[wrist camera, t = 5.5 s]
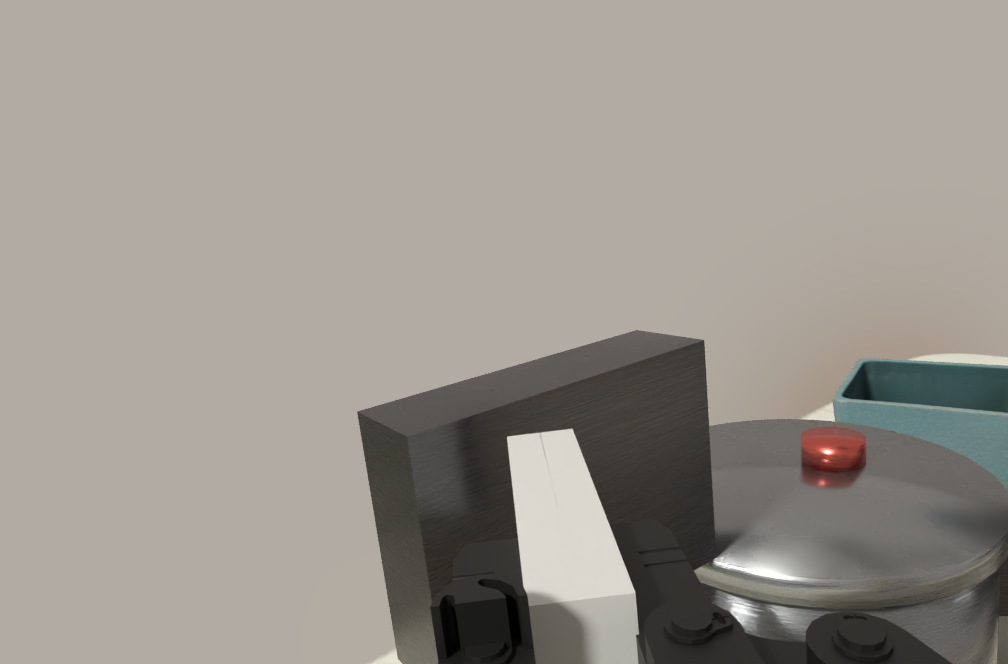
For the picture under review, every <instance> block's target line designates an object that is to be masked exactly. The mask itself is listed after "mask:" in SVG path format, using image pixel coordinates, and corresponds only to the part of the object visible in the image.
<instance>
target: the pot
mask: <svg viewBox="0 0 1008 664" xmlns="http://www.w3.org/2000/svg"><path fill="white" fill-rule="evenodd" d="M700 583H701V582H700ZM701 585H702V587H703V588H704V590H705V592H706V594H707V595H708V597H709V599H710V601H711V603H712V604H715V605H717V606H719V607H721V608H723V609H725V610H727V611H729V612H730V613H731V614H732V615H733V616H734V617H735V618H736V619H737V620H738V621H739V622H740V624H741V625H742V627H743V629H744V630H745V632H746V633H748V634H751V635H754V636H757V637H761V638H767V639H773V640H782V641H793V642H804V643H806V630H807V628H808V627H809V625H810V624H811V622H812V621H813V620H815V619H817V618H819V617H821V616H823V615H825V614H830V613H837V612H858V613H865V614H869V615H872V616H876V617H879V618H883V619H886V620H888V621H890V622H891V623H893V624H895V625H897V626H899V627H901V628H903V629H904V630H906V631H907V632H909V633H910V634H911V635H913V636H914V637H916V638H917V639H918V640H920V641H921V642H923V643H924V644H926V645H927V646H928V647H930V648H931V649H933V650H934V651H935V652H937V653H938V654H940V655H941V656H942V657H944V658H945V659H947V660H948V661H950V662H951V663H952V664H997V651H998V622H999V616H1008V557H1007V559H1006V560H1005V561H1004V563H1003V564H1002V565H1001V566H1000V567H999V568H998V569H997V571H995V572H994V573H993V574H991V575H990V576H989V577H987V578H986V579H984V580H983V581H982V582H980V583H978V584H975V585H973V586H971V587H969V588H967V589H965V590H963V591H960V592H957V593H954V594H951V595H948V596H945V597H942V598H939V599H934V600H929V601H924V602H920V603H915V604H909V605H901V606H892V607H883V608H858V609H841V608H817V607H808V606H799V605H790V604H782V603H777V602H771V601H766V600H760V599H755V598H751V597H747V596H743V595H739V594H735V593H731V592H727V591H724V590H721V589H718V588H715V587H712V586H710V585H707V584H704V583H701Z"/></svg>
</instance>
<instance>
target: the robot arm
mask: <svg viewBox="0 0 1008 664" xmlns="http://www.w3.org/2000/svg"><path fill="white" fill-rule="evenodd" d="M507 443H508V452H509V461H510V470H511V479H512V488H513V497H514V506H515V515H516V524H517V533H518V538H511V539H503V540H495V541H487V542H479V543H470V544H465V545H464V546H463V548H462V549H461V550H460V552H459V553H458V554H457V556H456V557H455V558H454V560H453V570H452V583H451V584H449V585H447V586H445V587H444V588H443V589H442V590H441V591H440V592H439V593H438V594H437V595H435V597H434V599H433V602H432V604H431V606H430V610H431V616H432V623H433V629H434V636H435V642H436V649H437V656H438V664H952V663H951V662H950V661H948V660H947V659H945V658H944V657H942V656H941V655H940V654H938V653H937V652H935V651H934V650H933V649H931V648H930V647H928V646H927V645H926V644H924V643H923V642H921V641H920V640H918V639H917V638H916V637H914V636H913V635H911V634H910V633H909V632H907V631H906V630H904V629H903V628H901V627H899V626H897V625H895V624H893V623H891V622H890V621H888V620H886V619H883V618H879V617H876V616H872V615H869V614H865V613H858V612H837V613H830V614H825V615H823V616H821V617H819V618H817V619H815V620H813V621H812V622H811V624H810V625H809V627H808V628H807V630H806V643H804V642H793V641H782V640H773V639H767V638H761V637H757V636H754V635H751V634H748V633H746V632H745V630H744V629H743V627H742V625H741V624H740V622H739V621H738V620H737V619H736V618H735V617H734V616H733V615H732V614H731V613H730V612H729V611H727V610H725V609H723V608H721V607H719V606H717V605H715V604H712V603H711V601H710V599H709V597H708V595H707V594H706V592H705V590H704V588H703V587H702V585H701V583H700V581H699V579H698V578H697V576H696V574H695V572H694V570H693V569H692V567H691V565H690V563H688V560H687V558H686V556H685V554H684V552H683V551H682V550H681V548H680V545H679V543H678V542H677V540H676V538H675V536H674V534H673V533H672V531H671V530H669V529H668V528H666V527H665V526H663V525H662V524H660V523H658V522H657V521H655V520H654V519H649V520H641V521H633V522H624V523H616V524H609V523H608V520H607V517H606V515H605V512H604V510H603V507H602V504H601V502H600V499H599V497H598V494H597V491H596V489H595V486H594V484H593V481H592V478H591V476H590V473H589V471H588V468H587V465H586V463H585V460H584V458H583V455H582V452H581V450H580V447H579V445H578V442H577V439H576V437H575V434H574V431H573V429H565V430H557V431H549V432H541V433H532V434H524V435H516V436H508V437H507Z"/></svg>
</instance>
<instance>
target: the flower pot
mask: <svg viewBox="0 0 1008 664" xmlns="http://www.w3.org/2000/svg"><path fill="white" fill-rule="evenodd" d="M833 407H834V416H835V422H842V423H850V424H857V425H864V426H870V427H875V428H880V429H885V430H890V431H894V432H898V433H902V434H907V435H910V436H914V437H917V438H920V439H923V440H927V441H930V442H932V443H935V444H938V445H940V446H943V447H946V448H948V449H950V450H953V451H955V452H957V453H959V454H961V455H963V456H965V457H967V458H969V459H971V460H972V461H974V462H976V463H978V464H979V465H981V466H982V467H983V468H985V469H986V470H987V471H989V472H990V473H992V474H993V475H994V476H995V477H996V478H997V479H998V480H999V481H1000V482H1001V483H1002V484H1003V485H1004V487H1005V489H1006V490H1007V492H1008V366H1003V365H985V364H963V363H946V362H928V361H910V360H890V359H860V360H859V361H857V362H856V363H855V365H854V366H853V368H852V370H851V371H850V373H849V375H848V376H847V378H846V379H845V381H844V382H843V384H842V385H841V386H840V388H839V389H838V391H837V392H836V393H835V395H834V396H833Z"/></svg>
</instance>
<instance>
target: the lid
mask: <svg viewBox="0 0 1008 664" xmlns="http://www.w3.org/2000/svg"><path fill="white" fill-rule="evenodd" d="M357 413H358V419H359V425H360V431H361V437H362V443H363V449H364V455H365V461H366V467H367V473H368V480H369V485H370V491H371V497H372V504H373V510H374V515H375V522H376V528H377V534H378V540H379V546H380V552H381V558H382V564H383V570H384V576H385V582H386V589H387V595H388V601H389V607H390V613H391V619H392V625H393V631H394V637H395V643H396V649H397V655H398V659H399V660H400V661H401V662H402V663H403V664H438V656H437V649H436V642H435V636H434V629H433V623H432V616H431V610H430V606H431V604H432V602H433V599H434V597H435V595H437V594H438V593H439V592H440V591H441V590H442V589H443V588H444V587H445V586H447V585H449V584H451V583H452V570H453V560H454V558H455V557H456V556H457V554H458V553H459V552H460V550H461V549H462V548H463V546H464V545H465V544H470V543H479V542H487V541H495V540H503V539H511V538H518V533H517V524H516V515H515V506H514V497H513V488H512V479H511V470H510V461H509V452H508V443H507V437H508V436H516V435H524V434H532V433H541V432H549V431H557V430H565V429H573V431H574V434H575V437H576V439H577V442H578V445H579V447H580V450H581V452H582V455H583V458H584V460H585V463H586V465H587V468H588V471H589V473H590V476H591V478H592V481H593V484H594V486H595V489H596V491H597V494H598V497H599V499H600V502H601V504H602V507H603V510H604V512H605V515H606V517H607V520H608V523H609V524H616V523H624V522H633V521H641V520H649V519H654V520H655V521H657V522H658V523H660V524H662V525H663V526H665V527H666V528H668V529H669V530H671V531H672V533H673V534H674V536H675V538H676V540H677V542H678V543H679V545H680V548H681V550H682V551H683V552H684V554H685V556H686V558H687V560H688V563H690V565H691V567H692V569H693V570H694V572H695V574H696V576H697V578H698V579H699V581H700V582H701V583H704V584H707V585H710V586H712V587H715V588H718V589H721V590H724V591H727V592H731V593H735V594H739V595H743V596H747V597H751V598H755V599H760V600H766V601H771V602H777V603H782V604H790V605H799V606H808V607H817V608H841V609H858V608H883V607H892V606H901V605H909V604H915V603H920V602H924V601H929V600H934V599H939V598H942V597H945V596H948V595H951V594H954V593H957V592H960V591H963V590H965V589H967V588H969V587H971V586H973V585H975V584H978V583H980V582H982V581H983V580H984V579H986V578H987V577H989V576H990V575H991V574H993V573H994V572H995V571H997V569H998V568H999V567H1000V566H1001V565H1002V564H1003V563H1004V561H1005V560H1006V559H1007V557H1008V492H1007V490H1006V489H1005V487H1004V485H1003V484H1002V483H1001V482H1000V481H999V480H998V479H997V478H996V477H995V476H994V475H993V474H992V473H990V472H989V471H987V470H986V469H985V468H983V467H982V466H981V465H979V464H978V463H976V462H974V461H972V460H971V459H969V458H967V457H965V456H963V455H961V454H959V453H957V452H955V451H953V450H950V449H948V448H946V447H943V446H940V445H938V444H935V443H932V442H930V441H927V440H923V439H920V438H917V437H914V436H910V435H907V434H902V433H898V432H894V431H890V430H885V429H880V428H875V427H870V426H864V425H857V424H850V423H842V422H832V421H819V420H797V419H777V420H754V421H742V422H733V423H726V424H720V425H714V426H709V417H708V400H707V383H706V365H705V347H704V340H700V339H692V338H686V337H679V336H672V335H665V334H659V333H652V332H645V331H638V330H636V331H633V332H629V333H626V334H622V335H619V336H615V337H612V338H609V339H605V340H602V341H599V342H595V343H592V344H588V345H585V346H581V347H578V348H575V349H571V350H568V351H564V352H561V353H557V354H554V355H550V356H547V357H544V358H540V359H537V360H533V361H530V362H527V363H523V364H519V365H516V366H513V367H509V368H506V369H502V370H499V371H495V372H492V373H489V374H485V375H482V376H478V377H475V378H471V379H468V380H464V381H461V382H458V383H454V384H451V385H447V386H444V387H441V388H437V389H434V390H430V391H427V392H423V393H420V394H416V395H413V396H410V397H406V398H403V399H399V400H396V401H393V402H389V403H386V404H382V405H379V406H375V407H372V408H369V409H365V410H361V411H358V412H357Z"/></svg>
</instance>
